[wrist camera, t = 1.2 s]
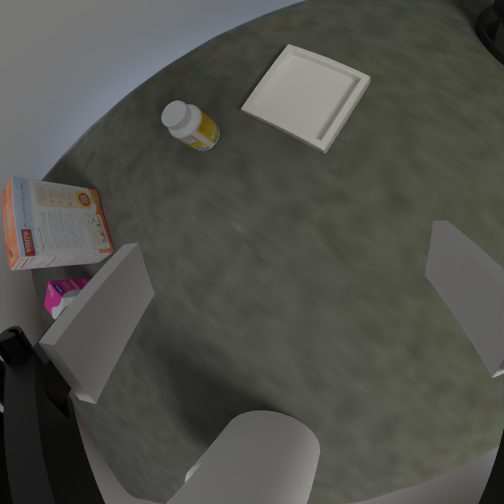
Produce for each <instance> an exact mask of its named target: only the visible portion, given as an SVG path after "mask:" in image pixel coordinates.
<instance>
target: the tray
mask: <svg viewBox="0 0 504 504" xmlns="http://www.w3.org/2000/svg"><path fill="white" fill-rule="evenodd" d="M369 84H370V76H368V75H366V74H363V73H361V72H359V71H357V70H355V69H353V68H350V67H348V66H346V65H343V64H341V63H339V62H336V61H334V60H331V59H329V58H326V57H324V56H321V55H318V54H316V53H313V52H310V51H307V50H304V49H301V48H298V47H295V46H292V45H289V44H288V45H287V47H286V48H285V49H284V51H283V52H282V53H281V54H280V56H279V57H278V58H277V60H276V61H275V62H274V63H273V65H272V66H271V67H270V69H269V70H268V71H267V73H266V74H265V75H264V77H263V78H262V80H261V81H260V82H259V84H258V85H257V86H256V88H255V89H254V91H253V92H252V93H251V95H250V96H249V98H248V99H247V101H246V102H245V103H244V105H243V106H242V108H241V110H242V111H243V112H244V113H245V114H246V115H248V116H250V117H253V118H255V119H257V120H259V121H261V122H263V123H265V124H267V125H269V126H271V127H273V128H275V129H278V130H280V131H281V132H283V133H285V134H287V135H289V136H291V137H293V138H295V139H297V140H299V141H301V142H303V143H304V144H306V145H308V146H310V147H312V148H314V149H315V150H317V151H319V152H321V153H323V154H324V155H326V153H327V151H328V150H329V148H330V147H331V145H332V143H333V142H334V140H335V139H336V137H337V136H338V134H339V132H340V131H341V129H342V128H343V126H344V124H345V123H346V121H347V120H348V118H349V116H350V115H351V113H352V112H353V110H354V108H355V107H356V105H357V104H358V102H359V100H360V99H361V97H362V96H363V94H364V92H365V91H366V89H367V88H368V86H369Z"/></svg>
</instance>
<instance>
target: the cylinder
mask: <svg viewBox="0 0 504 504" xmlns="http://www.w3.org/2000/svg"><path fill="white" fill-rule="evenodd" d="M319 455H320V447H319V442H318V440H317V439H316V437H315V435H314V433H313V432H312V431H311V430H310V429H309V428H308V427H307V426H306V425H305V424H303V423H302V422H300V421H298V420H296V419H295V418H293V417H291V416H288V415H285V414H282V413H279V412H273V411H266V410H261V411H250V412H246V413H243V414H240V415H238V416H237V417H235V418H233V419H232V420H231V421H230V422H229V424H228V425H227V426H226V427H225V428H224V430H223V431H222V432H221V433H220V435H219V436H218V437H217V438H216V440H215V441H214V442H213V443H212V444H211V446H210V447H209V448H208V449H207V450H206V452H205V453H204V454H203V455H202V456H201V457H200V459H199V460H198V461H197V462H196V463H195V464H194V466H193V467H192V468H191V469H190V470H189V471H188V472H187V474H186V479H185V484H184V485H183V486H182V487H181V488H180V489H179V490H178V491H177V492H176V494H175V495H174V496H173V497H172V498H171V499H170V500H169V501H168V502H167V503H166V504H307V501H308V498H309V494H310V491H311V487H312V484H313V480H314V476H315V472H316V468H317V464H318V460H319Z"/></svg>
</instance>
